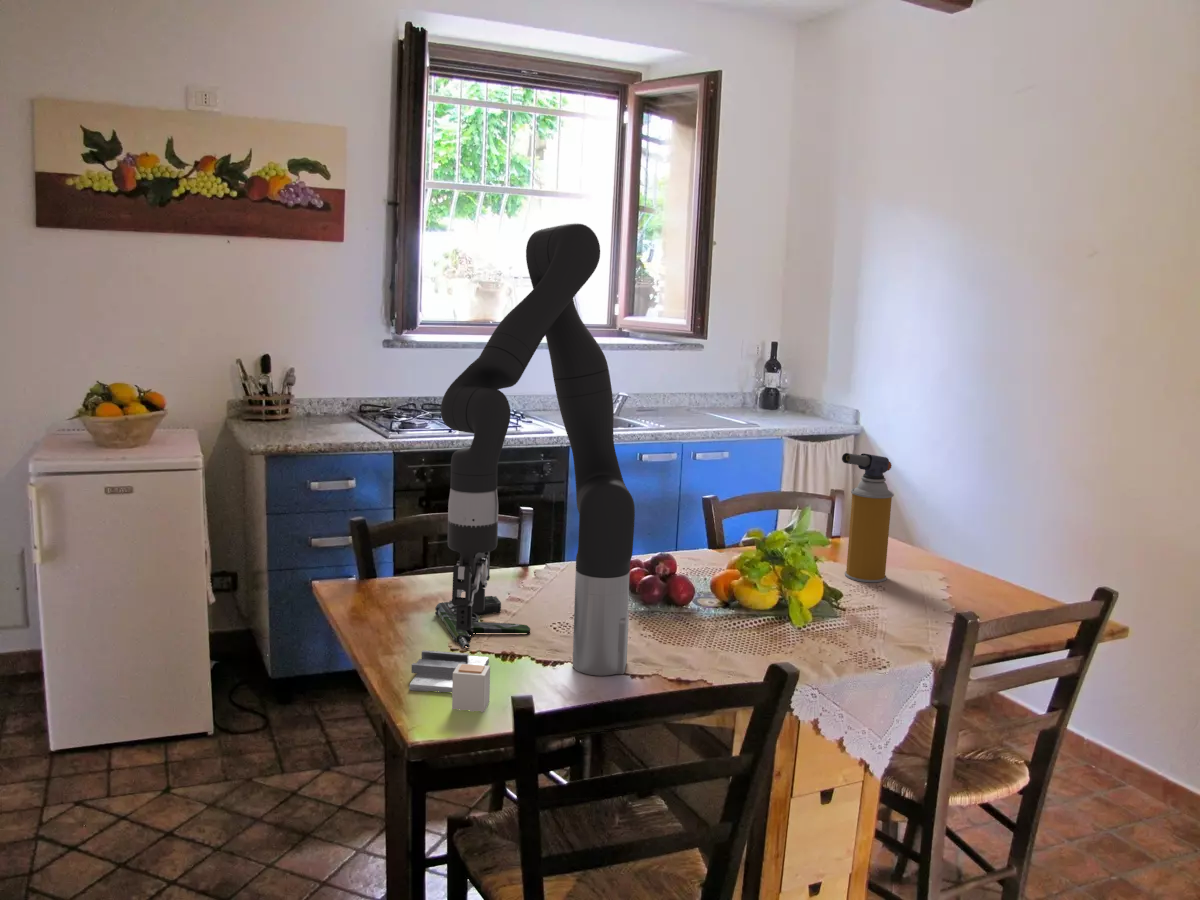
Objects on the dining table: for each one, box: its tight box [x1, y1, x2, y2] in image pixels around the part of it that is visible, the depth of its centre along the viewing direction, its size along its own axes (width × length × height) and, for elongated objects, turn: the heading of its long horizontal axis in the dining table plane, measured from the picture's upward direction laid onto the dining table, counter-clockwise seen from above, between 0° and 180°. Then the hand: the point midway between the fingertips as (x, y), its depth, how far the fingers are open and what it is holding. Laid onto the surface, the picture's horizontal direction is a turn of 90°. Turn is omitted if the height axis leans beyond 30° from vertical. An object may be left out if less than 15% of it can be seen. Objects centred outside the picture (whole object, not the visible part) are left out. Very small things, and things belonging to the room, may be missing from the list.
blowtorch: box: [841, 452, 895, 584], centre depth 235 cm, size 9×16×30 cm, turn 129°
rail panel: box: [409, 649, 490, 693], centre depth 173 cm, size 11×14×2 cm
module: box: [451, 664, 491, 713], centre depth 161 cm, size 5×4×6 cm
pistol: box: [434, 595, 531, 649], centre depth 198 cm, size 3×22×15 cm
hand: (470, 620), depth 159 cm, fingers open, 8 cm apart
